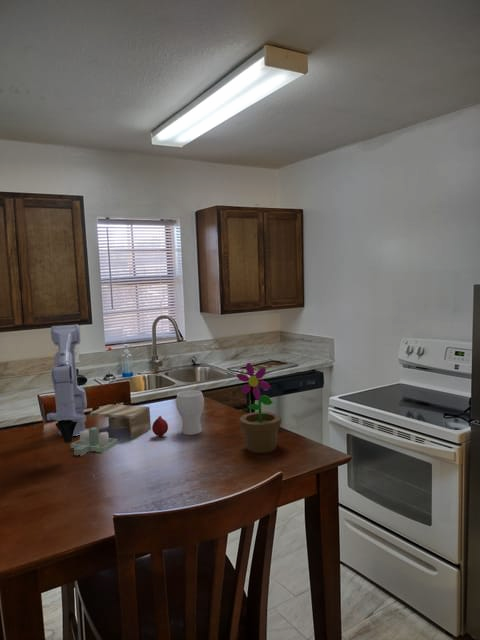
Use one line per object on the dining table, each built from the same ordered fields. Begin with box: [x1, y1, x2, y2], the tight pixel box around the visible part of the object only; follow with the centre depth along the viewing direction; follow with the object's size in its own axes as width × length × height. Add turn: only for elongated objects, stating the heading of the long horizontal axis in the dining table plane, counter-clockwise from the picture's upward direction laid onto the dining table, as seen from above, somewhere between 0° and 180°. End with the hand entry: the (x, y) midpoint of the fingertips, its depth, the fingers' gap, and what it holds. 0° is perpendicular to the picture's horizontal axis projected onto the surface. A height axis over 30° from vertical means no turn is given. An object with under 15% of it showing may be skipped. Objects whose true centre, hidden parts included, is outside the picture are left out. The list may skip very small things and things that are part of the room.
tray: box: [69, 426, 119, 457], centre depth 162 cm, size 14×14×7 cm
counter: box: [89, 404, 152, 441], centre depth 178 cm, size 19×12×9 cm, turn 70°
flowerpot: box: [236, 362, 282, 454], centre depth 154 cm, size 14×14×30 cm
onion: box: [151, 415, 169, 438], centre depth 170 cm, size 6×6×8 cm
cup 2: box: [175, 389, 205, 436], centre depth 174 cm, size 11×11×15 cm
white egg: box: [98, 431, 110, 447], centre depth 163 cm, size 3×3×4 cm
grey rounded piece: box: [79, 430, 90, 445], centre depth 166 cm, size 3×3×4 cm
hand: (68, 441), depth 152 cm, fingers closed
